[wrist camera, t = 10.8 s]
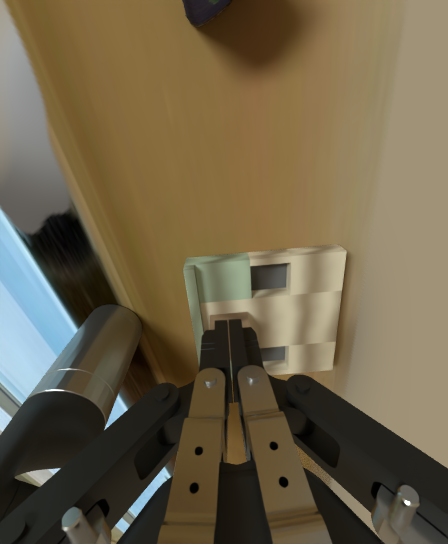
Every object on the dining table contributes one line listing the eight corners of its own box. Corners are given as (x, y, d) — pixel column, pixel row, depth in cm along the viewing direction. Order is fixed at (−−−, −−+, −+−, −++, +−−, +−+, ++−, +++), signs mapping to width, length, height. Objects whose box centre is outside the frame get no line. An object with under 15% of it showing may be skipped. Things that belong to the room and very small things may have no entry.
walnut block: (247, 311, 42) (250, 327, 38) (249, 341, 44) (252, 358, 41) (209, 315, 42) (209, 330, 38) (213, 344, 44) (213, 362, 41)
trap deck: (337, 244, 41) (351, 254, 37) (325, 358, 50) (335, 376, 46) (186, 258, 41) (183, 270, 37) (203, 368, 50) (202, 388, 46)
